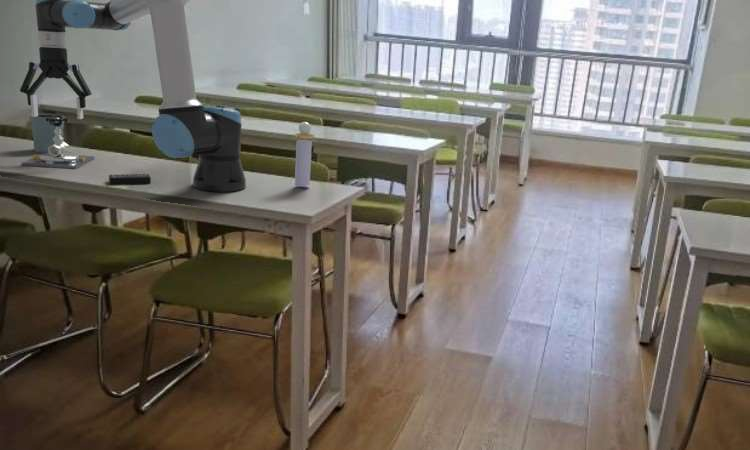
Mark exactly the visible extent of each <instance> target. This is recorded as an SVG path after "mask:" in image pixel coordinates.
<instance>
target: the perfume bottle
mask: <svg viewBox="0 0 750 450" xmlns="http://www.w3.org/2000/svg"><path fill="white" fill-rule="evenodd" d="M311 130H312V126H311V124H310V123H309V122H308V121H302V122H300V124H299V125H298V131H299V132H298V133H297V132H296V133H295V134H294V137H295V138H299V139H300V140H299V139H298V140H296V143H295V144H296V147H295V148H296V149H295V166H294V167H295V168H294V169H295V170H294V186H296V187H299V188H306V187H310V184H311V182H310V181H311V166H312V165H311V164H312V154H314V144H313V142H312V141H311V140H308V139H314V138H315V134H312V133H310V132H311ZM301 139H302V140H301ZM304 139H307V140H304ZM307 185H309V186H307Z"/></svg>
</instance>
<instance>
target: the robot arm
mask: <svg viewBox="0 0 750 450" xmlns="http://www.w3.org/2000/svg"><path fill="white" fill-rule="evenodd" d="M188 1H189V0H110V1H107V2H105V3H102V2H89V1H83V0H35V5H34V6H35V13H36V23H37V24H36V25H37V34H38V35H37V37H38V45H39V46H40V47H38V51H39V59H40V61H39V62H37V61H30V62H29V63H28V70H27V73H26V75H25V77H24V80H23V82H22V83H21V87H20V89H19V91H20V93H24V94H25V95H26V97H27V104H28V106H30V109H31V114H32V117H36V116H38V113H39V107H38V96H37V94H35V93H36V91H37V90H39V88H40V86H41V85H42V84H43V82H45V81H46V80H47V78H48V79H58V80H59V79H62V81H64V82H65V83H66V84H68V86H69V87H70V88H71V90H73V92H74V93H75V94H76V95H77V96H78V97H76V99H75V100H76V115H77V116H76V117H77V120H82V119H84V109H86V106H87V105H86V97H89V96H92V91H91V90H90V87H89V86H88V84H87V82H86V81H85V79H84V77H83V75H82V73H81V70H80V65H79V64H77V63H73V64H69V63H68V49H67V48H65V47H66V46H67V35H66V30H67V29H66V28H72V29H73V28H74V29H91V30H93V29H94V30H107V31H109V30H110V31H125V30H127V29H128V28H129V26H130V25H131V23H132V22H133V21H135V20H138V19H140V18H142V17H144V16H147V15H150V18H151V19H150V20H151V25H152V33H153V39H154V46H155V51H156V52H155V53H156V60H157V61H156V62H157V67H158V73H159V80H160V81H159V82H160V87H161V89H160V90H161V95H162V103H160V105H159V106H158V107H157V108H158V116H157V117H155V119H154V120H153V124H152V125H151V133H152V138H153V141H154V144H155V146H156V147H157V149H158V150H160V151H161V152H162V154H164V155H165V156H167V157H170V158H172V159H178V158H181V159H182V158H184V159H185V158H189V157H194V156H198V155H199V157H198V163H197V166H196V169H195V172H194V174H193V176H192V185H193V187H194V188H195V189H198V190H201V191H205V192H215V193H223V192H224V193H226V192H227V193H228V192H237V191H238V192H239V191H240V190H244V189H246V187H247V185H246V184H247V182H246V181H247V180H246V176H245V172H244V170H243V166H242V165H243V164H242V163H241V148H242V147H241V144H242V125H243V124H242V116H241V113H240V111H239V110H236V109H231V108H224V107H219V106H218V107H217V106H211V105H204V104H203V103H202V102H200V101H199V99H197V94H196V86H195V78H194V71H193V63H192V56H191V50H190V49H191V48H190V41H189V40H190V39H189V35H188V34H189V32H188V28H187V21H186V13H185V5H186V4H187V2H188ZM39 69H40V70H41V73H40V74H39V76H38V77H37V79H35V81H34V82H33V83H32V81H33V79H34V77H35V75H36V74H37V73H36V72H37V70H39ZM68 71H71V72H72V73H73V76H74V77H75V79H76V81H77V83H76V82H75V81H74V79H72V77H71V76H70V74H69V73H68Z"/></svg>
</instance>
